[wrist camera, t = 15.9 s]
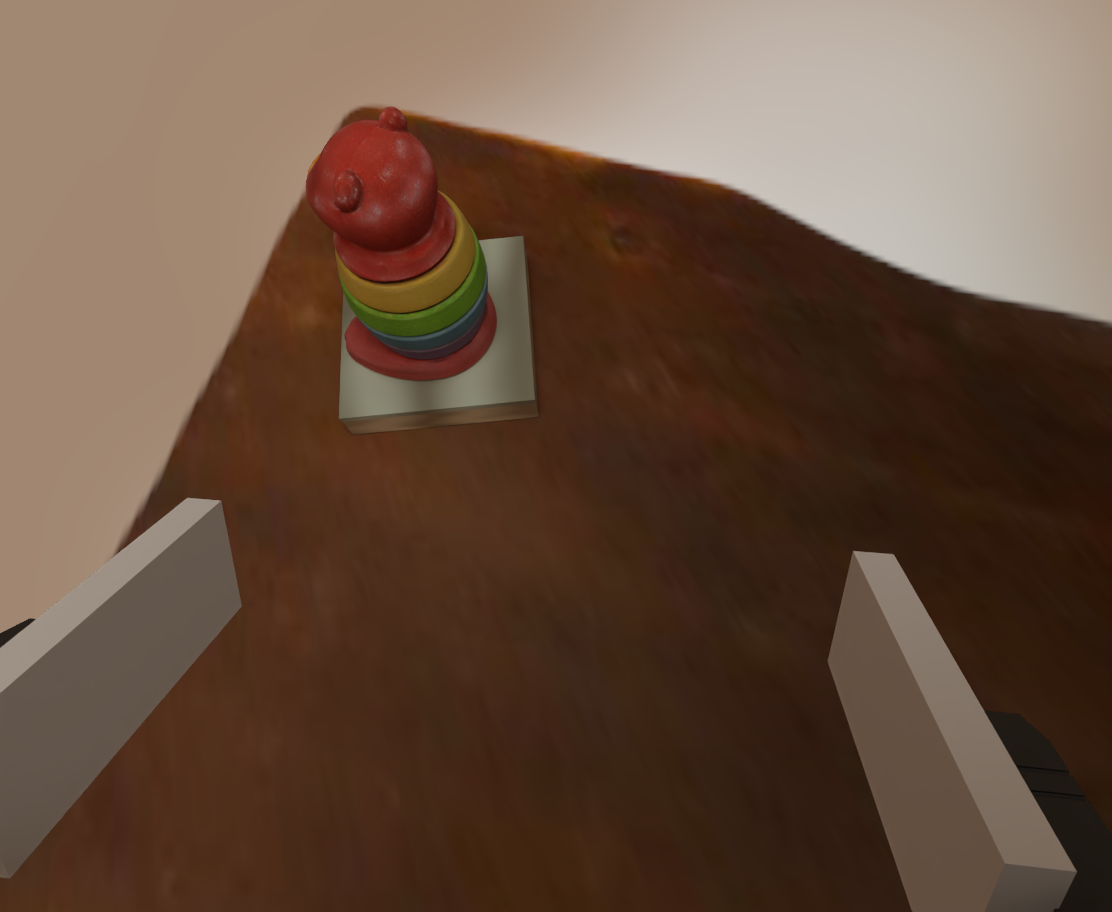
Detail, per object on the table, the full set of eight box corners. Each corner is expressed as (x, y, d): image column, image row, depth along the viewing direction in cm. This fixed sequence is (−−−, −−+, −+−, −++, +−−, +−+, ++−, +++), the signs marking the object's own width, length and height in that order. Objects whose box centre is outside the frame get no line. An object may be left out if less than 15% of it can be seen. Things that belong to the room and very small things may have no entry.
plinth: (527, 259, 58) (523, 235, 55) (538, 416, 53) (534, 399, 50) (357, 277, 59) (344, 254, 56) (352, 434, 54) (338, 418, 51)
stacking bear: (417, 244, 56) (337, 39, 39) (528, 296, 53) (493, 102, 37) (336, 352, 53) (212, 181, 36) (450, 412, 50) (373, 259, 34)
